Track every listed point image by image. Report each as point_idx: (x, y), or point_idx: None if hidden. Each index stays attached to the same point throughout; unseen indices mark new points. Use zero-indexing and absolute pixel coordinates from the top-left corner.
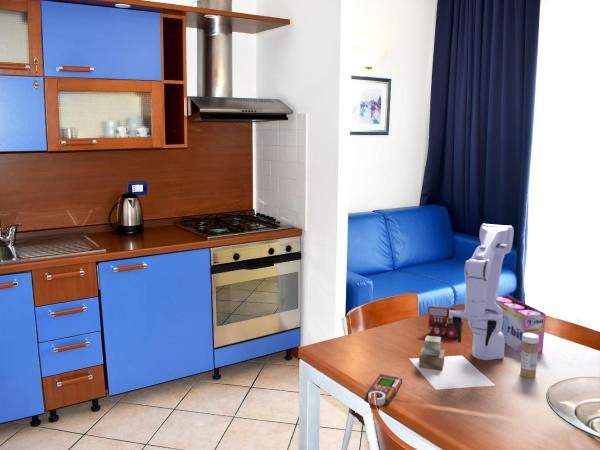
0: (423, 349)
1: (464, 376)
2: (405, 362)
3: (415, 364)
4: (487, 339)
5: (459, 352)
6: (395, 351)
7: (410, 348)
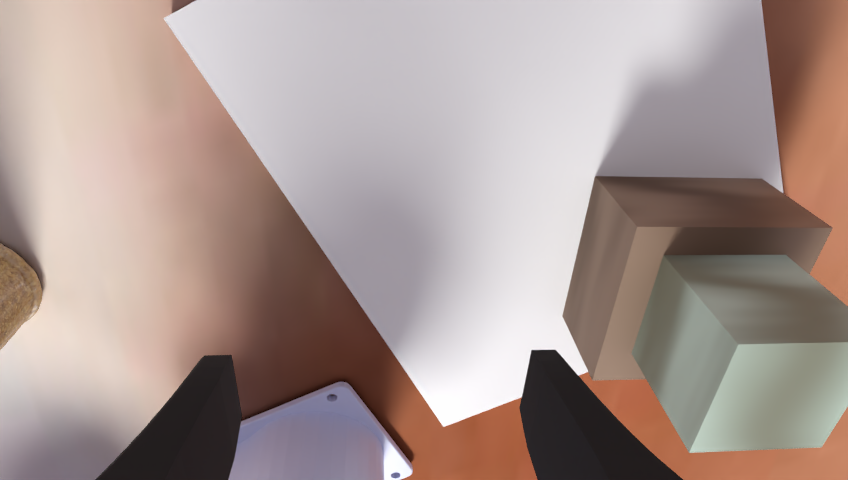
0: None
1: (431, 121)
2: None
3: None
4: (175, 418)
5: (453, 467)
6: None
7: None
